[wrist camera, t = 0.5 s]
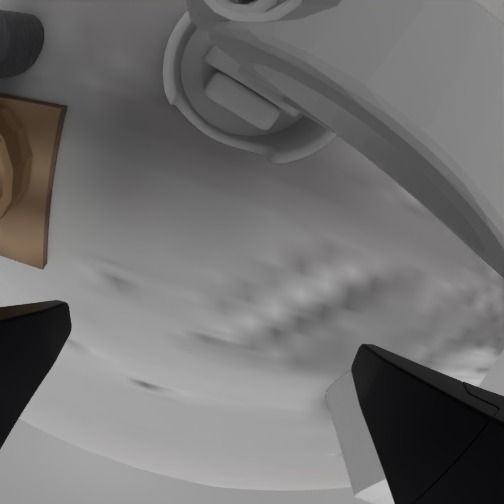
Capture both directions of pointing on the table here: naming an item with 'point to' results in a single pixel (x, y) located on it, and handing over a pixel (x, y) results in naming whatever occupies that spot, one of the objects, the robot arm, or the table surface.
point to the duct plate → (27, 176)
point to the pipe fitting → (19, 42)
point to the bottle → (357, 443)
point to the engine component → (357, 93)
